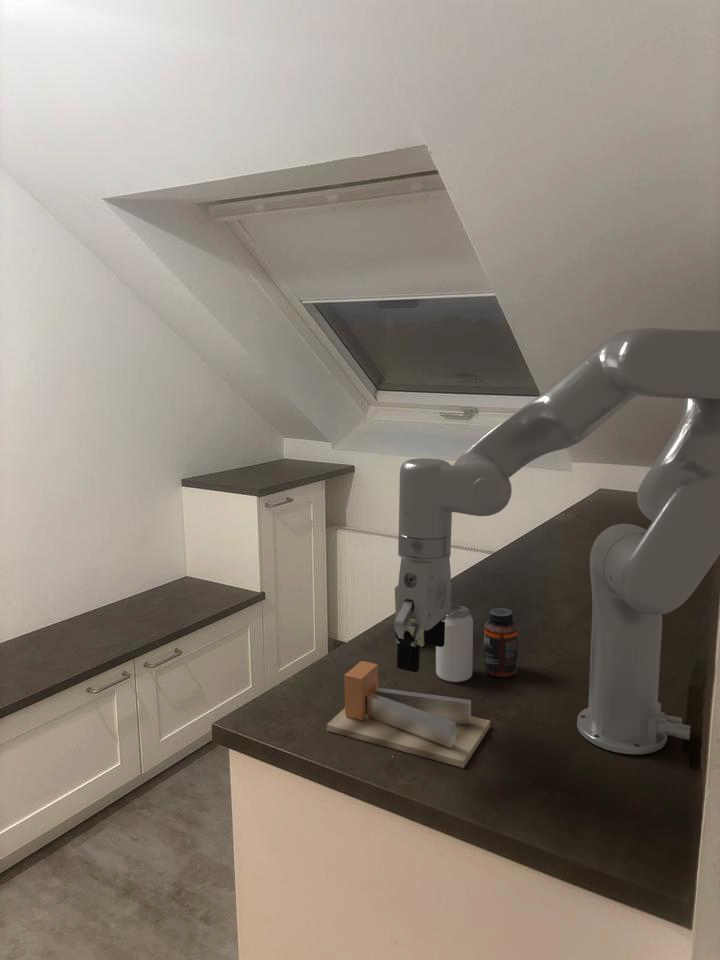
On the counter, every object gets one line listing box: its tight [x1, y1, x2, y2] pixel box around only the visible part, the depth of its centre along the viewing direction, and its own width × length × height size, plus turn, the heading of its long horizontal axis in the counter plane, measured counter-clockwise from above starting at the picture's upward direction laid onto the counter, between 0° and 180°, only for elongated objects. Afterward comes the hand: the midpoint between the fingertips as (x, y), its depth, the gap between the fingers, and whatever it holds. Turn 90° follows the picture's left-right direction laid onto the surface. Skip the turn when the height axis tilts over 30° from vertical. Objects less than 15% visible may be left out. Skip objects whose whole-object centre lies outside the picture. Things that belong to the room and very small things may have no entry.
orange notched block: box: [343, 660, 379, 720], centre depth 108 cm, size 3×6×7 cm, turn 152°
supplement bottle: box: [483, 607, 519, 678], centre depth 122 cm, size 6×6×11 cm
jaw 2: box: [367, 693, 456, 748], centre depth 102 cm, size 15×1×3 cm, turn 52°
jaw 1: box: [374, 687, 472, 725], centre depth 106 cm, size 15×1×3 cm, turn 72°
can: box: [435, 605, 474, 683], centre depth 121 cm, size 6×6×12 cm
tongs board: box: [326, 696, 491, 769], centre depth 105 cm, size 22×12×4 cm, turn 62°
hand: (421, 656), depth 101 cm, fingers open, 9 cm apart
